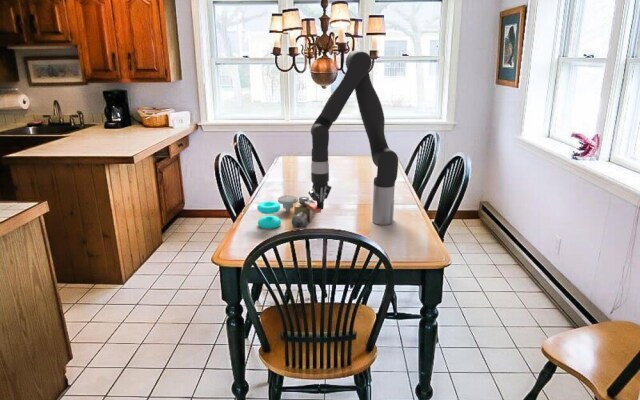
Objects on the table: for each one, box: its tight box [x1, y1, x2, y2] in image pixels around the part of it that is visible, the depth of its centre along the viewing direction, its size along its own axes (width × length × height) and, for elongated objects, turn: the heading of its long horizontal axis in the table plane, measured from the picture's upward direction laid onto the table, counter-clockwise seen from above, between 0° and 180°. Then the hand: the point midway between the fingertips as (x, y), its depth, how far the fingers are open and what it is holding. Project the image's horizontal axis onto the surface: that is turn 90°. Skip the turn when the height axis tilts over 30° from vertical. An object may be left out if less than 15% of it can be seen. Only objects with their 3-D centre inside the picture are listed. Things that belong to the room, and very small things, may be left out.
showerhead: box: [277, 194, 299, 213], centre depth 223 cm, size 9×7×10 cm
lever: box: [298, 196, 322, 214], centre depth 205 cm, size 17×4×2 cm, turn 25°
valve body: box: [291, 199, 317, 229], centre depth 212 cm, size 7×22×8 cm, turn 168°
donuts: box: [256, 200, 282, 230], centre depth 205 cm, size 10×10×10 cm
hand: (320, 209), depth 204 cm, fingers closed
